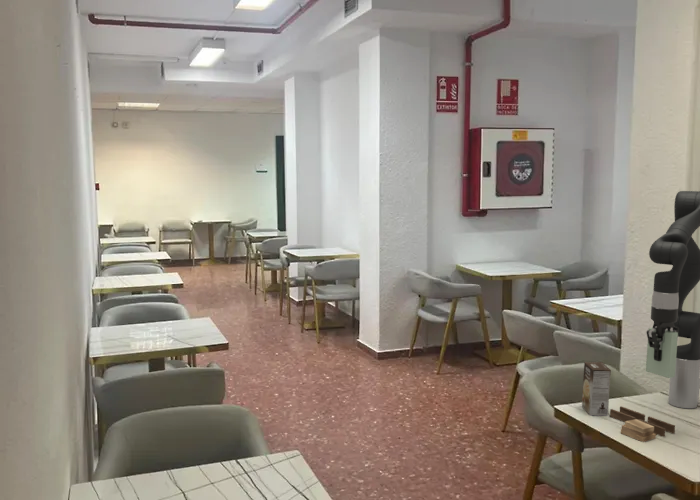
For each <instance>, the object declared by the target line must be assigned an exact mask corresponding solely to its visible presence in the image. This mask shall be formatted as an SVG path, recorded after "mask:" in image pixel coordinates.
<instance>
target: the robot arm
mask: <svg viewBox="0 0 700 500" xmlns="http://www.w3.org/2000/svg"><path fill="white" fill-rule="evenodd" d="M673 205H674V208H673V209H674V213H673V214H674V222H672V223H671V224H670V225H669V227H668V228H667V231H666V232H665V233H664V234H662V235H661V236H659V238H657V239H656V240H654V242H653V243H652V244H651V246H650V248H649V250H648V251H649V252H648V255H649V258H650V260H651V261H652V262H653V263H655V264H658V265H669V266H672V267H671V269H670V270H665V271H659V272H656V273H655V274H654V277H653V278H654V279H653V291H652V297H651V307H650V319H651V320H652V321H653V325H652V328H653V329H652V330H651V331H649V329H647V330H646V337H647V343H648V342H649V346H650V347H653V348H654V360H656V361H661V359H662V346H663V343H664V342H665V334H666V332H667V331H670V332H671V331H673V332H677V333H678V337H679V338H685V339H690V342H689V343H686V344H682V345H680V344H679V345H677V354H676V367H675V377H672V378H669V386H668V398H667V399H668V400H667V402H668V404H669V405H671V406H673V407H677V408H680V409H681V408H682V409H696V408H697V407H698V405H699V398H700V397H699V396H700V313H699V312H693V311H688V310H687V311H686V310H683V306H684V302H685V300H686V298H688V295H689V294H690V293H691V291H692V290H693V289H694V288H695V287H697V286H696V285H698V283H699V282H700V247H699V245H698V244H697V243H696V241H695V239H694V238H693V235H694V233H695V232H696V231H697V230H698V229H699V228H700V191H699V190H698V191H697V190H694V191H693V190H692V191H691V190H679V191H678V192H677V193H676V196H675V199H674V204H673ZM657 338H661V339H657ZM653 342H654V343H653ZM658 342H659V344H658Z"/></svg>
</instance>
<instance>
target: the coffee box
mask: <svg viewBox="0 0 700 500" xmlns="http://www.w3.org/2000/svg"><path fill="white" fill-rule="evenodd" d="M611 374H612V370H611V369H610V368H609V367H608V366H607V365H606V364H605V363H604V362H603V361H585V362H584V364H583V379H582V380H583V381H582V397H581V398H582V399H581V407H582V408H583V409H584V410H585V411H586V413H587V414H588V415H589V416H595V417H596V416H597V417H599V416H605V417H607V416H609V403H610V401H609V400H610V388H611Z"/></svg>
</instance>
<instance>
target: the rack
mask: <svg viewBox="0 0 700 500" xmlns="http://www.w3.org/2000/svg"><path fill="white" fill-rule="evenodd" d="M609 417H610V418H613V419H615V420H618V421H621V422H623V423H625V421H629V420H634V419H637V420H639V421H642V422H644V423H647V424H649V425H651V426H654V432H653V433H654V434H656V436H659V437H662V438H664V437H666V432H667V433H670V434H672V435H673V434H675V432H676V425H674V424H671V423H670V422H666V421H663V420H661V419H658V418H655V417H652V416H647V421H646V414H644V413H641V412H639V411H636V410H633V409H629V408H627V407H624V406H619V411H618V410H616V409H613V408H610V409H609Z"/></svg>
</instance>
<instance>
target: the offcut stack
mask: <svg viewBox="0 0 700 500" xmlns="http://www.w3.org/2000/svg"><path fill="white" fill-rule="evenodd" d="M653 432H654V426H651V425H649V424H647V423H644V422H642V421H639V420H637V419H634V420H629V421H625V422H624V424H622V425H621V429H620V434H621V435H624V436H627V437H629V438H632V439H634V440H637V441H640V442H642V443H644V442H645V443H646V442H648V441H652V440H655V439H656V438H657V434H654V433H653Z"/></svg>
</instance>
